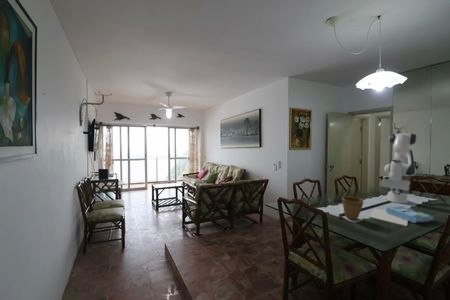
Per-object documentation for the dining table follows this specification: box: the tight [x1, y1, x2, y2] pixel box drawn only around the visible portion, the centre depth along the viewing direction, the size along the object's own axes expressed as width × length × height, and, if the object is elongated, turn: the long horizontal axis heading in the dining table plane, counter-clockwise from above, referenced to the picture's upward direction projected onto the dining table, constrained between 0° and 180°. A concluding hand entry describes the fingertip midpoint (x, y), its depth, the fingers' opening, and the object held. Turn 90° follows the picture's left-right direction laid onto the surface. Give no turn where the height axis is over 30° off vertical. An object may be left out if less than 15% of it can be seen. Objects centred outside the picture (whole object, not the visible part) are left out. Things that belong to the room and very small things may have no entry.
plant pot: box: [341, 196, 364, 221], centre depth 173 cm, size 15×15×16 cm
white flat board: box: [368, 208, 409, 227], centre depth 179 cm, size 28×24×1 cm
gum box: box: [385, 205, 434, 224], centre depth 178 cm, size 20×5×23 cm
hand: (393, 193), depth 193 cm, fingers closed
